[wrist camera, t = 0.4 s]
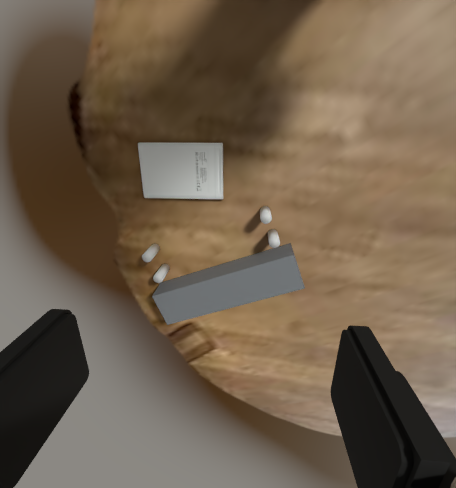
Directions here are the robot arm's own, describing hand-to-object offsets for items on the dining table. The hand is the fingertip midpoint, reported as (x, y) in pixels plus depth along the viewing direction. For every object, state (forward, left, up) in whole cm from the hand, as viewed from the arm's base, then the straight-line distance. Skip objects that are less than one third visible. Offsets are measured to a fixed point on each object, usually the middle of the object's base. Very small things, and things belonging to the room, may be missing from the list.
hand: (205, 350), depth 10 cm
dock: (+11, -8, -34) cm, 37 cm away
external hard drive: (-5, -8, -35) cm, 36 cm away
